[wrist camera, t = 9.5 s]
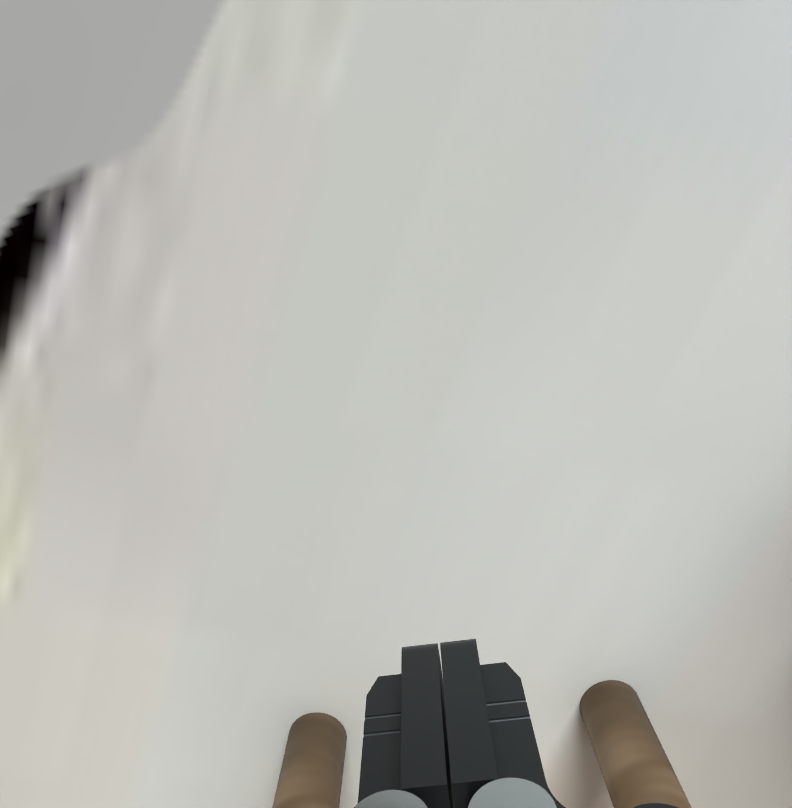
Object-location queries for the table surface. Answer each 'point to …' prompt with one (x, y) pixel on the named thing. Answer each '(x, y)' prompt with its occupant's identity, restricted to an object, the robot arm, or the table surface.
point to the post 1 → (312, 764)
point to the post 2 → (628, 748)
